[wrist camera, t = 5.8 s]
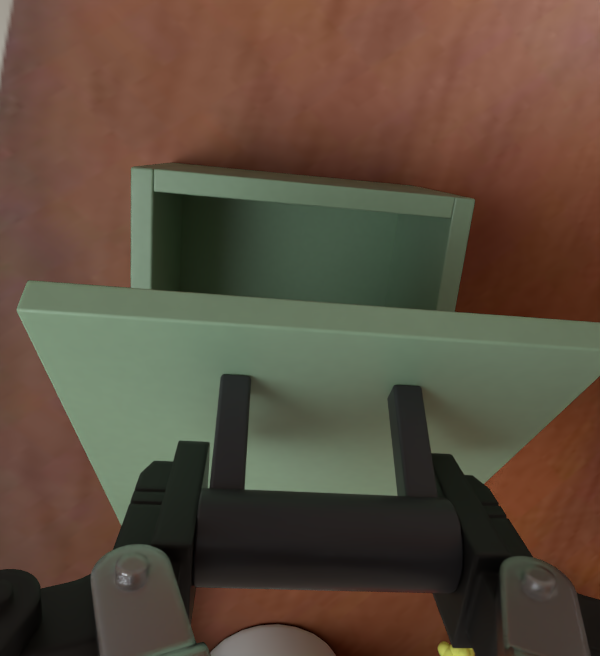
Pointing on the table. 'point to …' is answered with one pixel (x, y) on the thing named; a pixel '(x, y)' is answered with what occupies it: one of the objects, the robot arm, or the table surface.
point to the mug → (273, 643)
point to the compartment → (296, 237)
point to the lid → (305, 420)
